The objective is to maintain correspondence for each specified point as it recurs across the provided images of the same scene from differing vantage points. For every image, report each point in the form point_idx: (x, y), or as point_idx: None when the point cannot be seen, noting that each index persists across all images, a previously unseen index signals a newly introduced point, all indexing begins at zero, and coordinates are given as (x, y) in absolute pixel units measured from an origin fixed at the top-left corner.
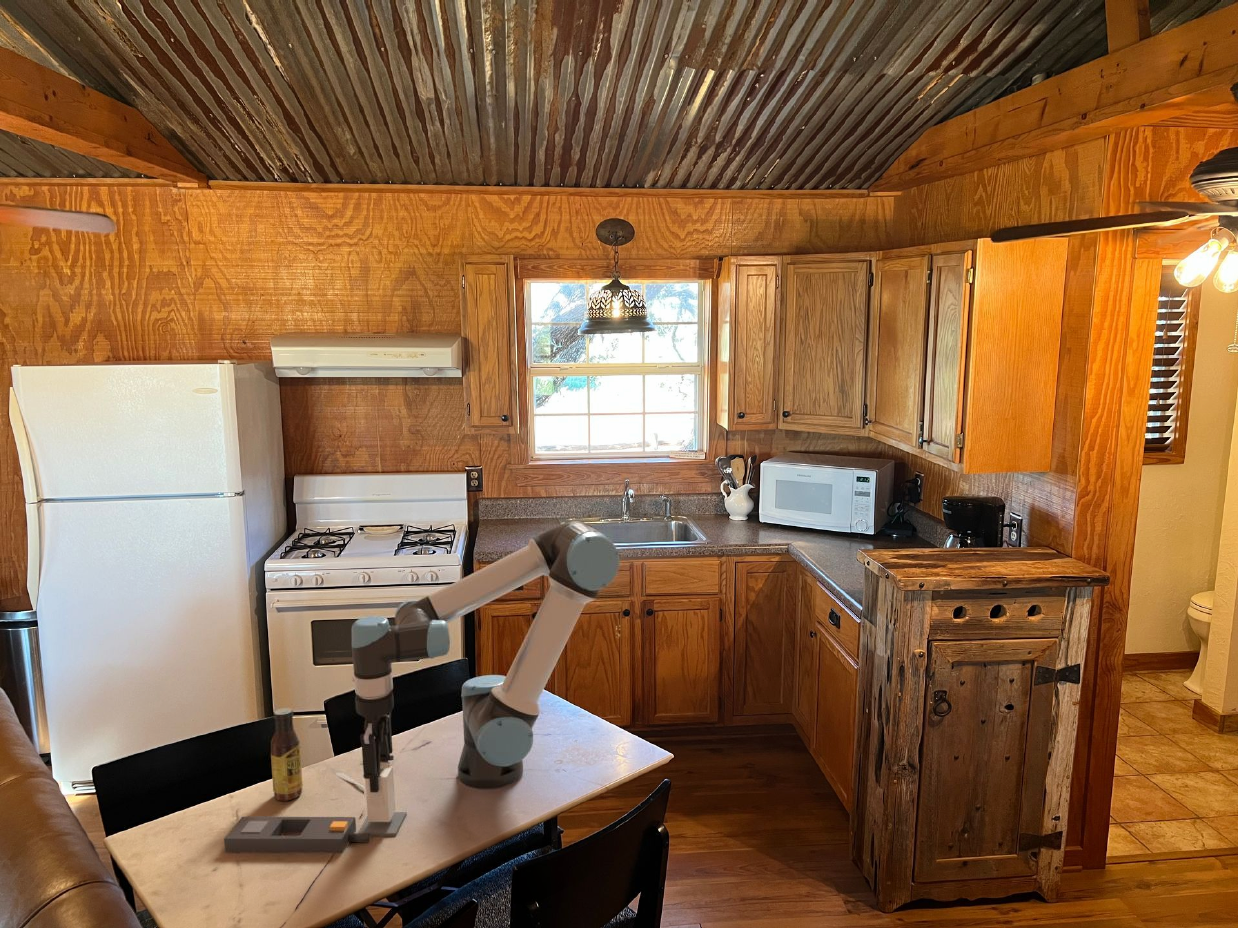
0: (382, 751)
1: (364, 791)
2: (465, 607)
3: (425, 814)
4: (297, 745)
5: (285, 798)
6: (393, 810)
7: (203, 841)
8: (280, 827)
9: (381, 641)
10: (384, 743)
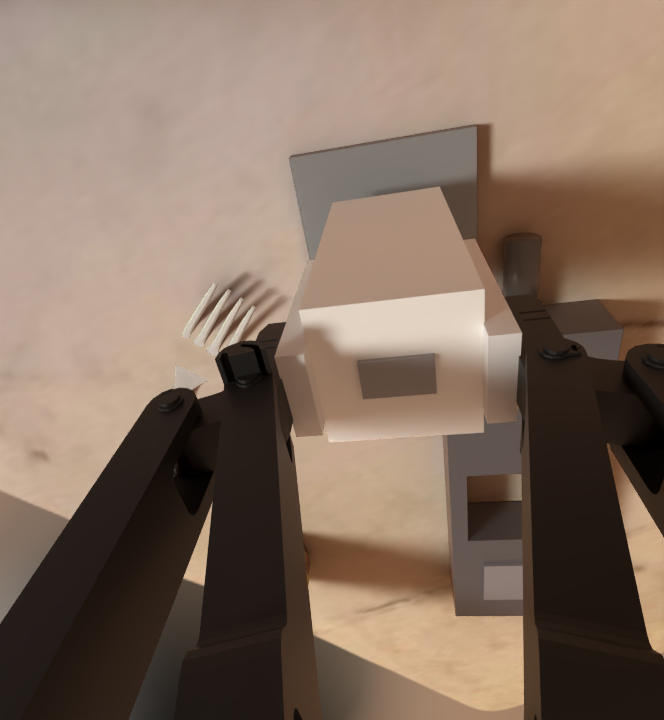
0: (286, 464)
1: (191, 389)
2: None
3: (267, 49)
4: None
5: (307, 557)
6: (363, 202)
7: (504, 619)
8: (483, 525)
9: None
10: (284, 520)
